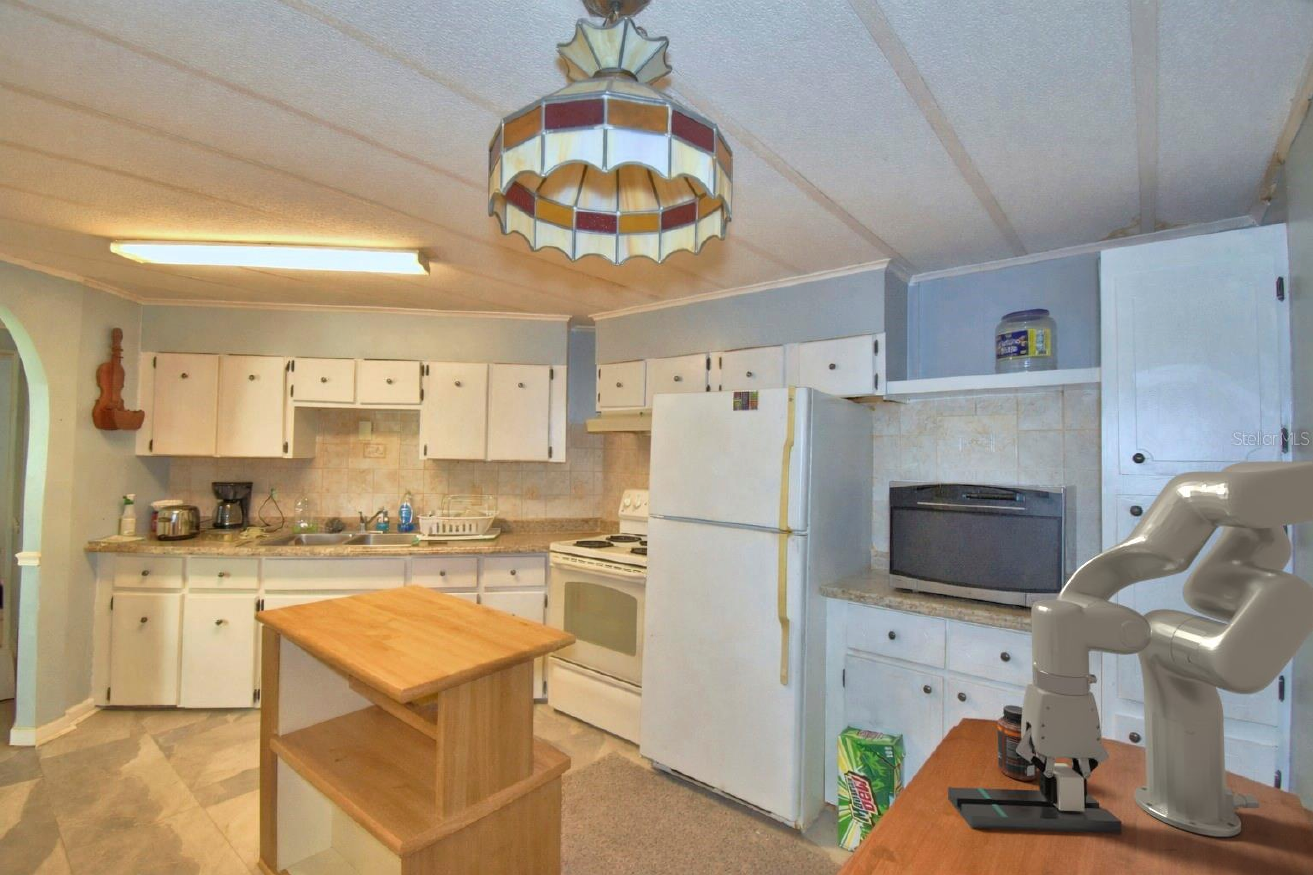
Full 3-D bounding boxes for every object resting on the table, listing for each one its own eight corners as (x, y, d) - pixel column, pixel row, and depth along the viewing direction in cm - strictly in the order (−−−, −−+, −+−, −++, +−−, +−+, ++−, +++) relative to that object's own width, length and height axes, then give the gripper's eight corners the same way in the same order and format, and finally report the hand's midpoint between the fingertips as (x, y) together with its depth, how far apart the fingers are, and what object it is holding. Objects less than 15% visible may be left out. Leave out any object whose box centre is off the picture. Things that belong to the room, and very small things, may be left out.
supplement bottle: (1043, 784, 103) (1041, 717, 103) (1005, 780, 104) (1004, 714, 104) (1029, 767, 109) (1027, 704, 109) (993, 763, 110) (992, 701, 110)
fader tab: (1066, 802, 96) (1065, 763, 96) (1084, 819, 91) (1083, 777, 91) (1043, 802, 96) (1042, 762, 96) (1060, 818, 91) (1059, 777, 92)
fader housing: (1085, 803, 97) (1085, 791, 97) (1121, 833, 89) (1121, 820, 89) (948, 798, 98) (948, 786, 98) (971, 827, 90) (971, 815, 90)
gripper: (1098, 674, 98) (1101, 788, 97) (994, 671, 98) (996, 784, 98) (1132, 691, 90) (1135, 815, 89) (1019, 688, 91) (1022, 811, 90)
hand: (1063, 798), depth 93 cm, fingers closed on fader tab, 3 cm apart
